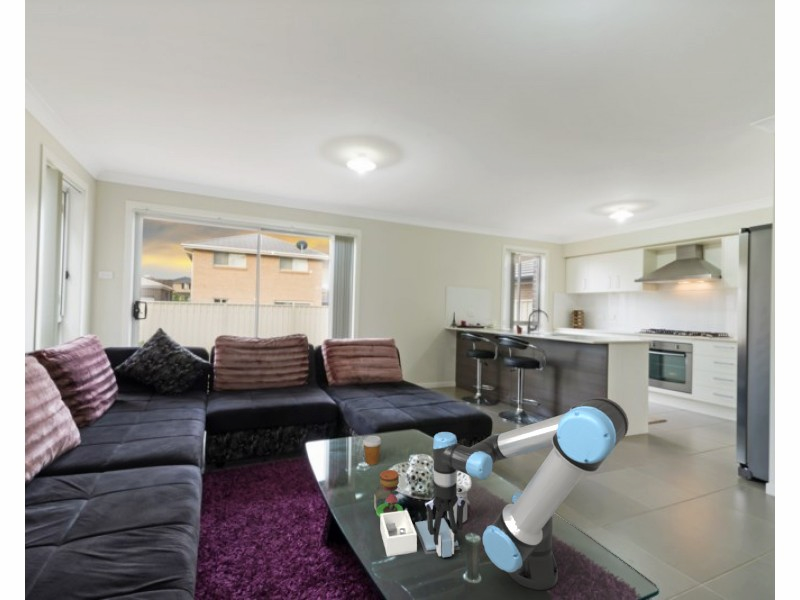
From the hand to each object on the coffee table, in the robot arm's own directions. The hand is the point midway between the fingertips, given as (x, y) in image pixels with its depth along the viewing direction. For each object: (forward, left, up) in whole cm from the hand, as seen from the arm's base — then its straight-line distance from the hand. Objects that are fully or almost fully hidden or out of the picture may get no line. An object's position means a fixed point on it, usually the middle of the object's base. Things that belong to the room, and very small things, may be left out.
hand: (445, 552), depth 124 cm
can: (+18, -11, -2) cm, 21 cm away
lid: (+8, 0, 0) cm, 8 cm away
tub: (+11, +13, -1) cm, 17 cm away
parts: (+11, +13, -1) cm, 17 cm away
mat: (+9, 0, -1) cm, 10 cm away
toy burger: (+29, +13, -2) cm, 32 cm away
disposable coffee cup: (+72, +14, -2) cm, 73 cm away
